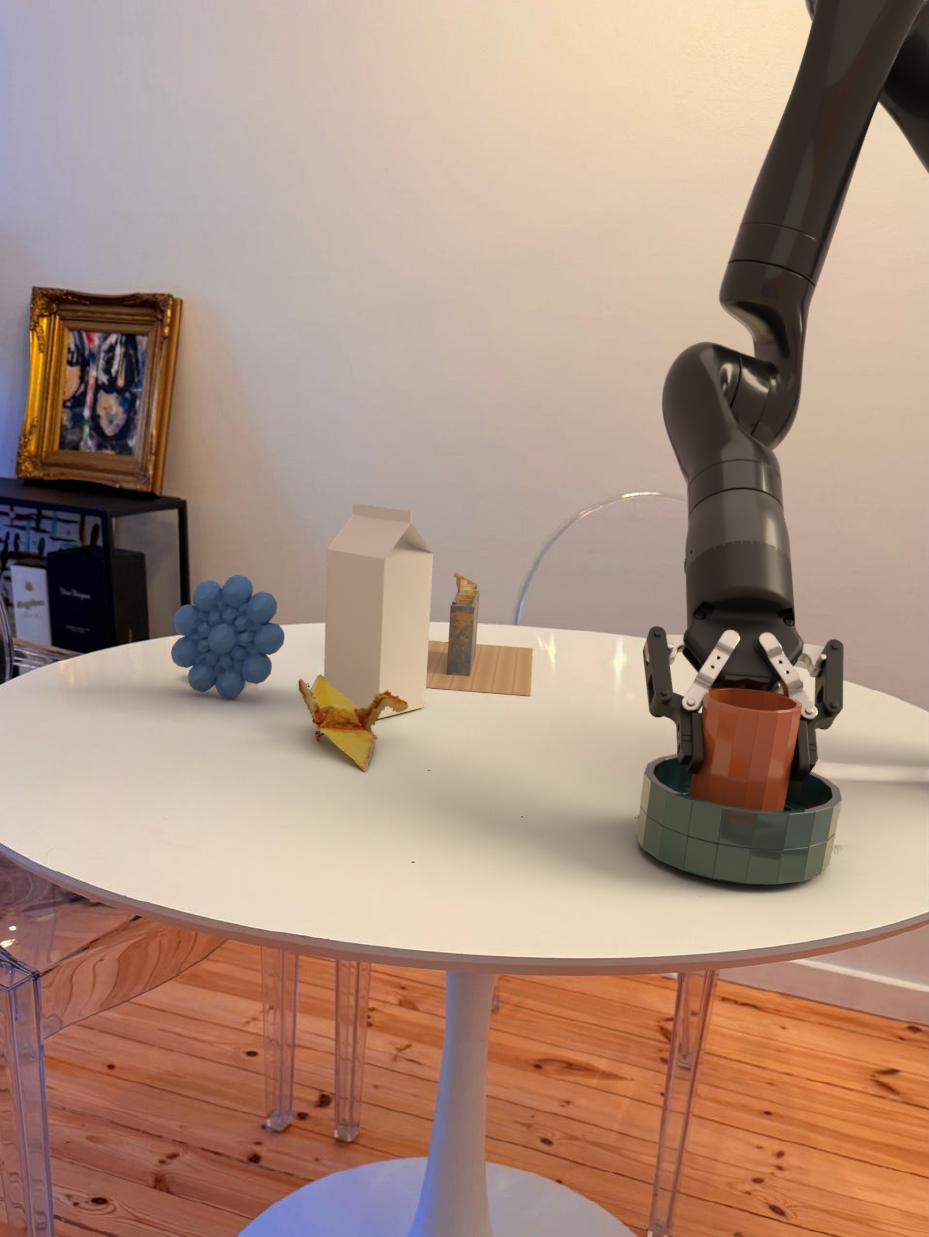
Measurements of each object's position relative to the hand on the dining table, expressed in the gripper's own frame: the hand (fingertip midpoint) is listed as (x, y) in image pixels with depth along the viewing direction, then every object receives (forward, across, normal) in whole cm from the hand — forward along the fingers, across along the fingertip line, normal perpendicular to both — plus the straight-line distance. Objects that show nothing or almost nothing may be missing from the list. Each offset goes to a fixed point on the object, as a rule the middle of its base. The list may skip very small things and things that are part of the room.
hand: (747, 772), depth 77 cm
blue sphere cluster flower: (-20, -42, +30) cm, 56 cm away
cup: (+2, 0, +4) cm, 5 cm away
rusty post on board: (-35, -20, +45) cm, 61 cm away
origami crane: (-11, -30, +21) cm, 38 cm away
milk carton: (-20, -28, +30) cm, 45 cm away
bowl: (+4, 0, +6) cm, 7 cm away
